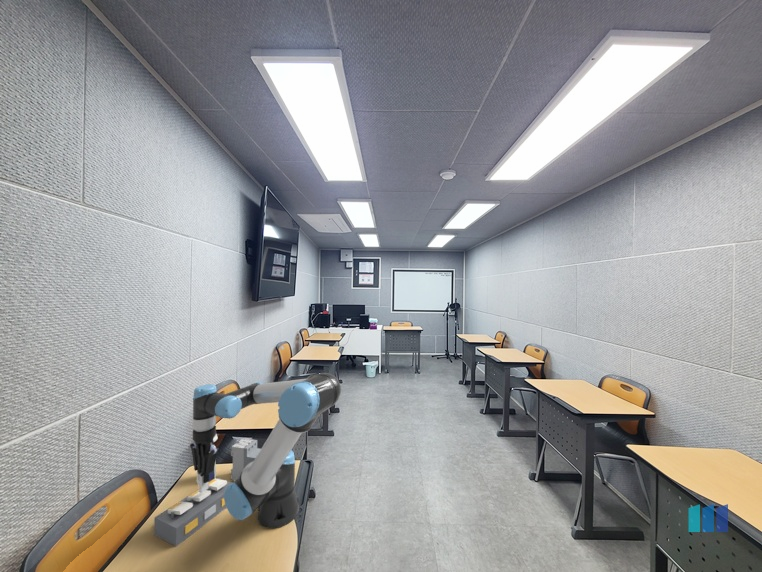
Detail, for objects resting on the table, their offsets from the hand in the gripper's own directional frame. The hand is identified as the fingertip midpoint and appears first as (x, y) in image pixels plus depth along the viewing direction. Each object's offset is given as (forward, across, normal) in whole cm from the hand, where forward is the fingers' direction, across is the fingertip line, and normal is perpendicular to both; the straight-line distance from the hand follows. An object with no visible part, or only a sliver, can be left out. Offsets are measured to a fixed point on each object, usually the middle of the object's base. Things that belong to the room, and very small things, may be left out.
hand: (203, 490), depth 110 cm
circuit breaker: (+11, +3, -25) cm, 27 cm away
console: (+10, +2, 0) cm, 10 cm away
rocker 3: (+3, +2, -7) cm, 8 cm away
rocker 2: (+3, +2, 0) cm, 4 cm away
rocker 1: (+3, +2, +7) cm, 8 cm away
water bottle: (+11, +20, -16) cm, 28 cm away
